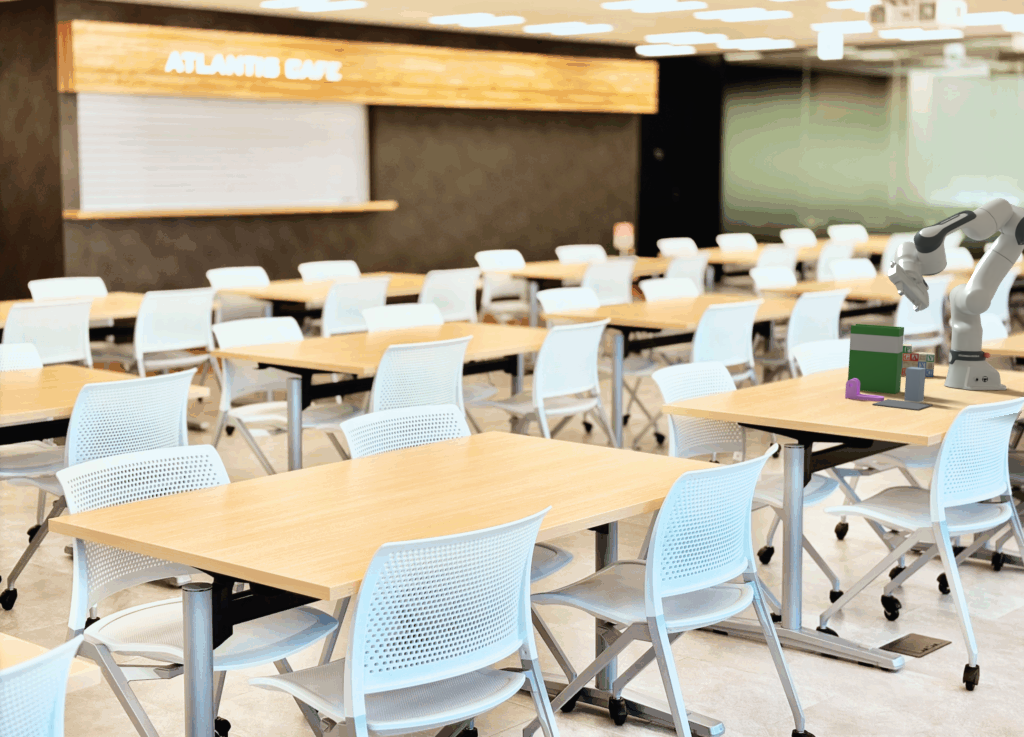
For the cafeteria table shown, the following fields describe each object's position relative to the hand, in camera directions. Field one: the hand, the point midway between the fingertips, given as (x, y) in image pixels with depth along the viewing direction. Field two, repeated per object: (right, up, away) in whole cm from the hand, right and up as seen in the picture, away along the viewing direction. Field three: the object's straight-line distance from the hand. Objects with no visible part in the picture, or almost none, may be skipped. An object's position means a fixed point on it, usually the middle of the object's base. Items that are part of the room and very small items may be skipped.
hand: (909, 302), depth 466 cm
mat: (-5, -36, -8) cm, 37 cm away
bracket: (-14, -35, +4) cm, 38 cm away
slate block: (+2, -35, 0) cm, 35 cm away
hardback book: (-6, -32, +25) cm, 41 cm away
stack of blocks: (+20, -26, +71) cm, 78 cm away
